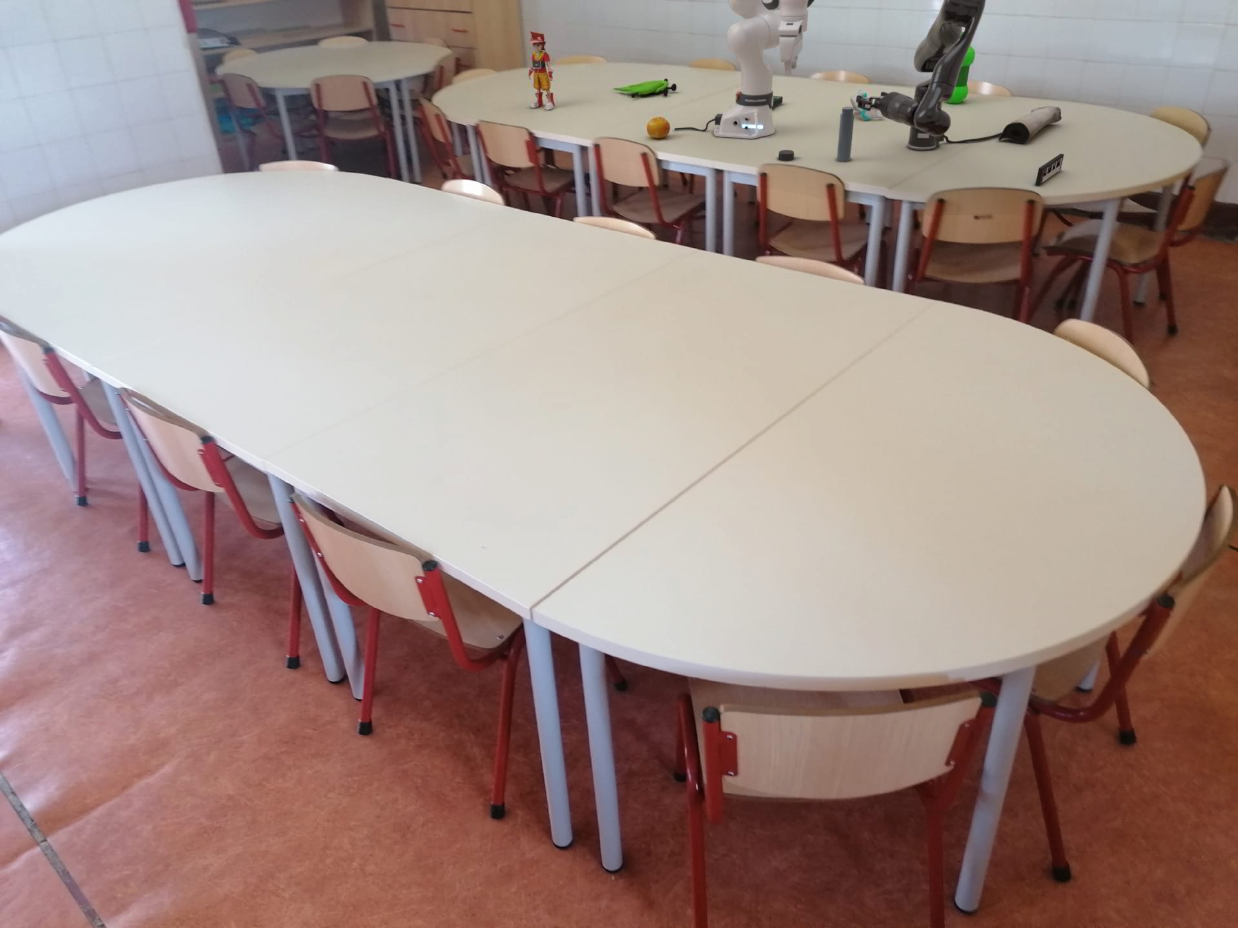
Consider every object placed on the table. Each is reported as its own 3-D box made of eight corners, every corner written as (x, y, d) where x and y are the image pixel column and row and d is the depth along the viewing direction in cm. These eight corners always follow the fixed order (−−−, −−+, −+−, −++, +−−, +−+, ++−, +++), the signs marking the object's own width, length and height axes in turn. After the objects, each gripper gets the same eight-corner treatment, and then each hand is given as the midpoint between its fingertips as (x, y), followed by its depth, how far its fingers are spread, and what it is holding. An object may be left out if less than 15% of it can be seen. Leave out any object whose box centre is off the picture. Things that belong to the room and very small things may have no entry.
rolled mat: (1028, 111, 326) (1053, 93, 318) (1042, 132, 326) (1067, 115, 318) (994, 134, 309) (1019, 116, 300) (1008, 156, 309) (1034, 139, 301)
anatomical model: (845, 89, 345) (871, 82, 345) (847, 116, 351) (873, 109, 351) (856, 98, 333) (883, 91, 332) (859, 126, 339) (885, 119, 338)
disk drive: (768, 112, 357) (782, 103, 367) (768, 105, 355) (783, 96, 365) (744, 110, 362) (759, 101, 372) (744, 103, 360) (759, 94, 370)
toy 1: (525, 109, 381) (517, 32, 364) (534, 104, 388) (527, 28, 371) (550, 110, 377) (543, 32, 360) (559, 105, 384) (553, 28, 367)
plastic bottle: (973, 101, 354) (984, 32, 339) (955, 106, 349) (966, 36, 335) (952, 97, 361) (962, 29, 346) (934, 102, 356) (944, 33, 342)
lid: (795, 160, 303) (795, 153, 302) (780, 161, 303) (780, 154, 301) (791, 156, 307) (792, 149, 306) (776, 157, 307) (777, 150, 306)
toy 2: (686, 85, 398) (631, 84, 414) (685, 72, 395) (629, 72, 411) (651, 104, 381) (596, 103, 397) (650, 92, 378) (594, 91, 394)
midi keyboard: (1039, 185, 269) (1043, 168, 266) (1035, 184, 270) (1038, 168, 267) (1060, 170, 279) (1064, 154, 277) (1056, 169, 280) (1060, 153, 277)
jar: (834, 159, 302) (838, 107, 292) (845, 157, 303) (849, 105, 294) (841, 162, 298) (846, 110, 289) (852, 160, 300) (857, 108, 290)
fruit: (639, 130, 331) (651, 110, 328) (647, 132, 339) (658, 113, 336) (657, 142, 330) (669, 123, 327) (664, 145, 338) (676, 126, 335)
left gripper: (789, 19, 290) (786, 65, 298) (776, 30, 275) (774, 78, 282) (808, 19, 288) (805, 65, 296) (797, 30, 273) (794, 79, 281)
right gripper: (921, 91, 266) (890, 81, 278) (879, 97, 262) (850, 87, 275) (918, 118, 270) (888, 106, 283) (876, 124, 267) (848, 112, 279)
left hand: (790, 72), depth 289 cm, fingers open, 8 cm apart
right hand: (869, 97), depth 279 cm, fingers open, 8 cm apart
